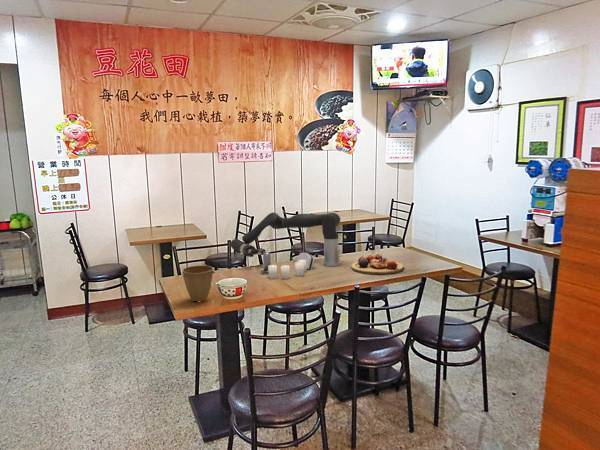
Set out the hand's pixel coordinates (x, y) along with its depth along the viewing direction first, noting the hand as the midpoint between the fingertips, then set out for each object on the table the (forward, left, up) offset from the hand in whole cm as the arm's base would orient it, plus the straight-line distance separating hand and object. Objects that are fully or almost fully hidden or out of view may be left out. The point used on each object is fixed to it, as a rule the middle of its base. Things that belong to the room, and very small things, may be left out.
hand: (258, 254), depth 273 cm
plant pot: (+34, +53, -10) cm, 64 cm away
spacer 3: (-22, +21, -9) cm, 32 cm away
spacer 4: (-25, +14, -9) cm, 30 cm away
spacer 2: (-13, +25, -9) cm, 30 cm away
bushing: (-4, +10, -9) cm, 14 cm away
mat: (-4, +10, -9) cm, 14 cm away
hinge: (-28, +3, -10) cm, 30 cm away
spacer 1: (-6, +22, -9) cm, 25 cm away
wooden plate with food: (-71, +18, -10) cm, 74 cm away
